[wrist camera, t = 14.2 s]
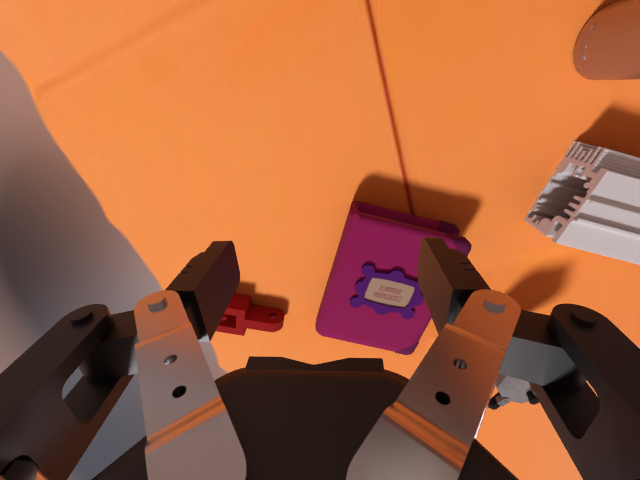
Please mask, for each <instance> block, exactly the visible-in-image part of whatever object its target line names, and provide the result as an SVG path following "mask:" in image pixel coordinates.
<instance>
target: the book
mask: <svg viewBox="0 0 640 480" xmlns="http://www.w3.org/2000/svg"><path fill="white" fill-rule="evenodd" d="M458 235H459V229H458V228H457V227H456V226H455V225H454V224H451V223H447V222H443V221H435V220H431V219H427V218H423V217H419V216H415V215H411V214H407V213H403V212H398V211H394V210H390V209H386V208H382V207H378V206H374V205H370V204H366V203H362V202H358V201H354V202H352V204H351V207H350V210H349V214H348V217H347V220H346V223H345V227H344V230H343V233H342V236H341V240H340V243H339V246H338V250H337V253H336V256H335V259H334V263H333V266H332V269H331V272H330V276H329V279H328V282H327V285H326V289H325V292H324V295H323V298H322V302H321V305H320V308H319V312H318V315H317V318H316V325H315V326H316V331H317V332H318V333H319V334H320V335H322V336H325V337H330V338H334V339H339V340H344V341H348V342H353V343H357V344H362V345H367V346H371V347H376V348H380V349H385V350H390V351H394V352H395V353H399V354H404V355H409V354H412V353H413V352H414V350H415V348H416V347H417V345H418V343H419V340H420V338H421V336H422V334H423V332H424V331H425V329H426V327H427V325H428V323H429V322H430V320H431V318H432V317H431V314H430V312H429V309H428V306H427V304H426V301H425V299H424V296H423V294H422V291H421V289H420V286H419V284H418V279H417V268H418V260H419V252H420V244H421V240H422V238H423V237H442V238H443V239H444V241H445V242H446V244H447V245H448V247H449V248H450V249H457V250H458V251H460V252H461V253H463V254H465V255H466V256H468V254H469V252H470V250H471V244H470V242H469V241H468V240H467V239H466V238H465V237H462V236H458Z"/></svg>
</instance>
